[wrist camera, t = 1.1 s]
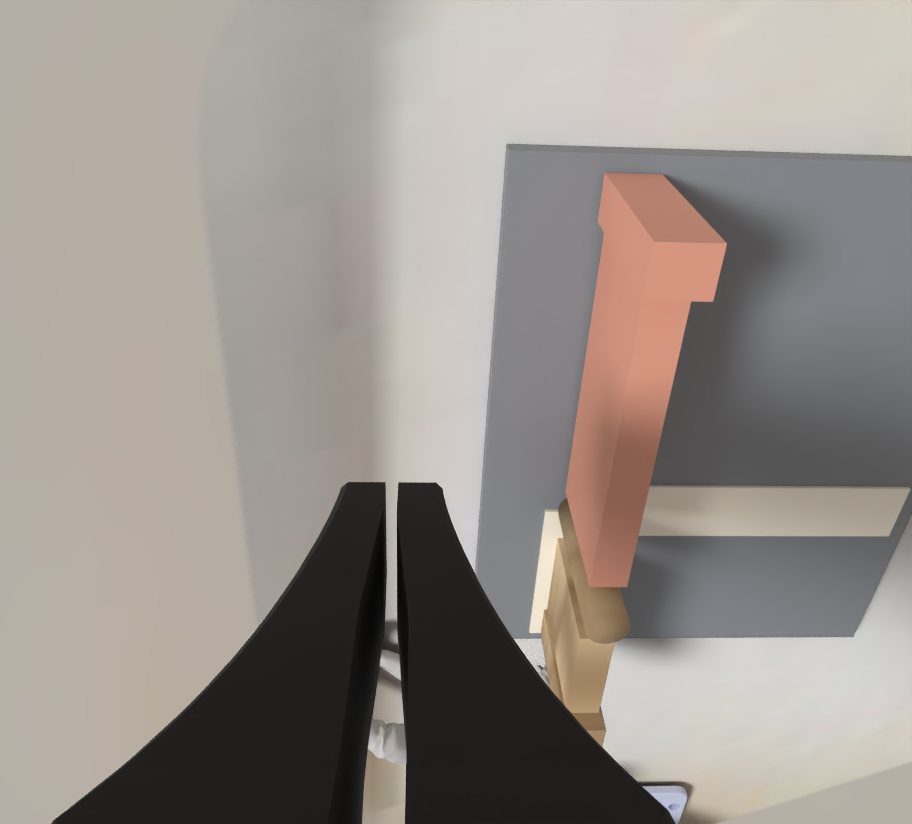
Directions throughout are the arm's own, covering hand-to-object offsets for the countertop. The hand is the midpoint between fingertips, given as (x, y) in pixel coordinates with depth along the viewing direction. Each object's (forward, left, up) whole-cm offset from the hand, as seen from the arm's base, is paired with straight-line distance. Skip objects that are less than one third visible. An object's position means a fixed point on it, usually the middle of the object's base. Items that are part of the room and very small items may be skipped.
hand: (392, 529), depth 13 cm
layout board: (-4, -10, -9) cm, 14 cm away
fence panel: (-1, -6, -9) cm, 10 cm away
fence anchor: (-10, -6, -9) cm, 14 cm away
